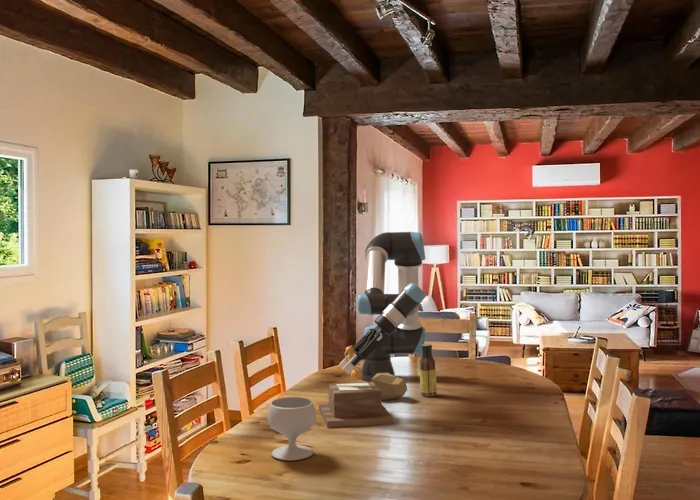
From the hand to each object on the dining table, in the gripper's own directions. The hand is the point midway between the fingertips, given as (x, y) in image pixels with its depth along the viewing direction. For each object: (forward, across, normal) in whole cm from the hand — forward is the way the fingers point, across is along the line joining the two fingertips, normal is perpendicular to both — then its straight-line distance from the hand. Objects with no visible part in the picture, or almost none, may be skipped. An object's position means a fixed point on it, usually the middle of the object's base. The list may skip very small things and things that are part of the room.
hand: (343, 369), depth 213 cm
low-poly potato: (-3, +19, -26) cm, 33 cm away
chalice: (+26, -33, +3) cm, 42 cm away
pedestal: (+9, 0, -14) cm, 17 cm away
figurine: (0, 0, -5) cm, 5 cm away
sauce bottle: (-14, +21, -38) cm, 45 cm away
